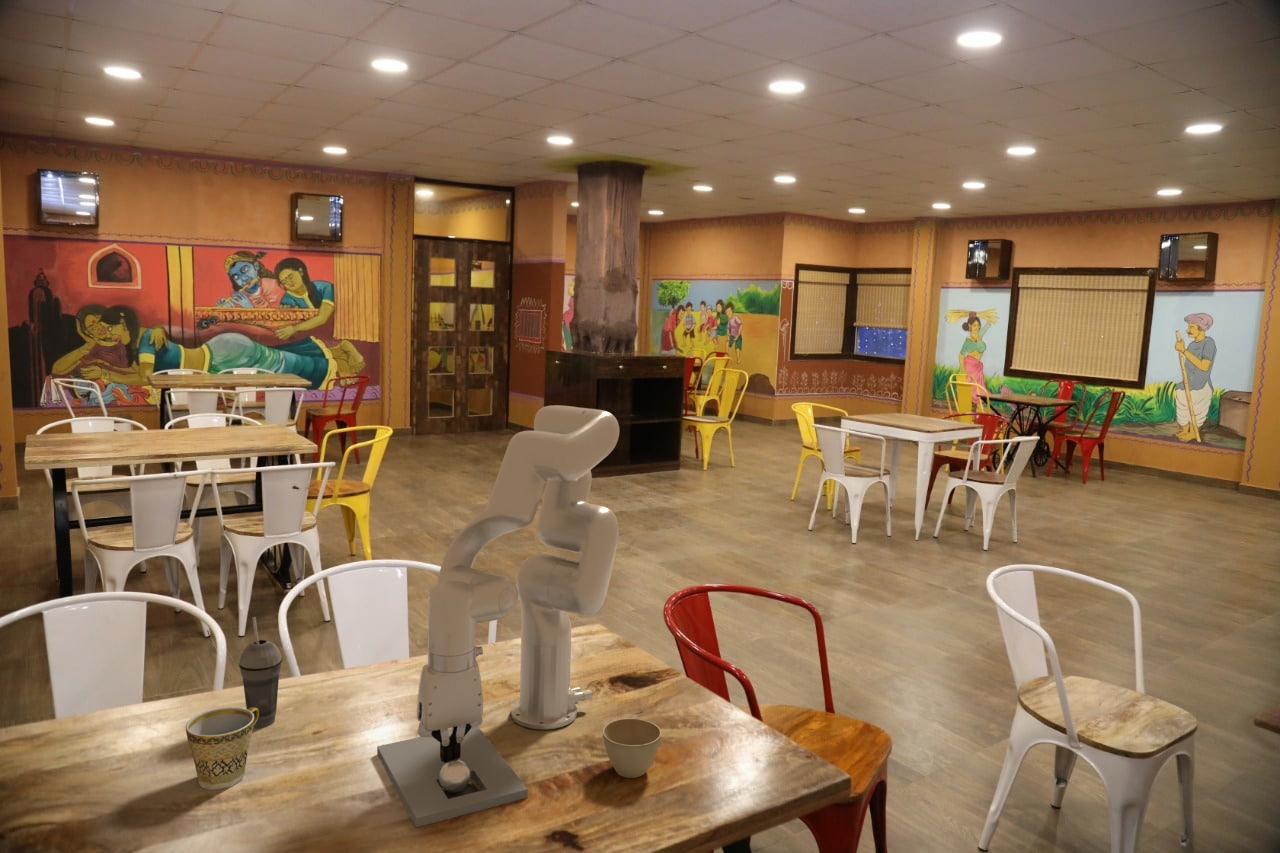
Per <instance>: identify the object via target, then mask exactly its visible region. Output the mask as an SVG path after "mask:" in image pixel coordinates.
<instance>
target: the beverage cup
mask: <svg viewBox="0 0 1280 853" xmlns="http://www.w3.org/2000/svg"><path fill="white" fill-rule="evenodd" d="M252 625H253V626H252V627H253V632H254V640H255V641H253V642H251V643H249V644H248V645H247V646H246V647H245V648H244V649H243V650H242V654H241V655H240V659H239V663H238V664H239V665H238V666H239V670H240V674H241V677H242V683H243V691H244V692H243V693H244V701H245V707H246V708H245V709H248V708H251V707H255V708H257V709H258V710H259V717H258V720H257V722H256V723H255V725H254V726H253V728H256V729H257V728H259V729H261V728H266V727H268V726H271V725H273V724H274V723H275V722H276V717H277V716H276V714H277V705H278V694H279V680H280V679H279V678H280V672H281V668H282V661H283V659H282V654H281V651H280V649H279V647H278V646H277V645H276V644H275V643H274V642H272V641H269V640H266V639H259V633H258V627H257V617H256V616H254V617H252ZM252 713H253V714H254V718H255V715H256V712H255V711H254V712H252Z"/></svg>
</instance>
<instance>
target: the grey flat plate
mask: <svg viewBox="0 0 1280 853" xmlns="http://www.w3.org/2000/svg"><path fill="white" fill-rule="evenodd" d="M451 732H452V729H451V730H448V734H449V736H451ZM376 749H377V750H376V751H377V752H376V753H377V754H376V755H377V757H378V758H379V760H380V763H381V764H382V766H383V769H385V771H386V773H387V775H388V777H389V779H390V781H391V784H392V785H393V787H394V788H395V791H396V792H397V794H398V796H399V797H400V800H401V802H402V803H403V805H404V807H405V809H406V811H407V813H408V814H409V817H410V818H411V821H412V822H413V824H414V826H415V828H420V827H424V826H427V825H431V824H435V823H438V822H442V821H447V820H449V819H453V818H457V817H461V816H465V815H468V814H471V813H476V812H479V811H483V810H487V809H491V808H494V807H499V806H502V805H505V804H510V803H512V802H516V801H517V802H518V801H520V800H523V799H524V800H525V799H528V795H529V793H528V791H529V790H528V788H527V786H526V785H525V783H523V780H521V779H520V777H519V776H518V775H517V774H516V772H515V770H513V768H512V767H511V766H510V765H509V764H508V763H507V761H506V760H505V758H504V757H503V756H502V755H501V754H500V752H499V751H498V750H497V748H496V746H494V745H493V743H492V742H491V741H490V740H489V738H488V736H486V735H485V733H484V732H483V730H481V728H480V727H479V726H477V727H474V728H471V729H470V731H469V732H468V733H467V734H466V735H465V736H464V739H463V742H461V752H460V758H458V760H461V761H463V762H465V763H466V764H467V765H468V767H469V769H470V773H471V777H470V781H471V780H474V781H475V783H476V784H477V786H476V785H475V784H473V783H469V784H468V785H467V787H466V788H465V789H464V790H462V791H460V792H458V793H450V792H447V791H445V790H444V789H443V788H442V786H441V785H440V782H439V773H440V770H441V768H442V767H443V766H444V765H445V763H444V762H442V761H441V759H440V742H439V741H437V740H436V739H435V738H433V737H420V736H419V737H414V738H410V739H404V740H400V741H396V742H391V743H386V744H382V745H377V748H376ZM478 787H479V788H478ZM479 789H480V790H479Z"/></svg>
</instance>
